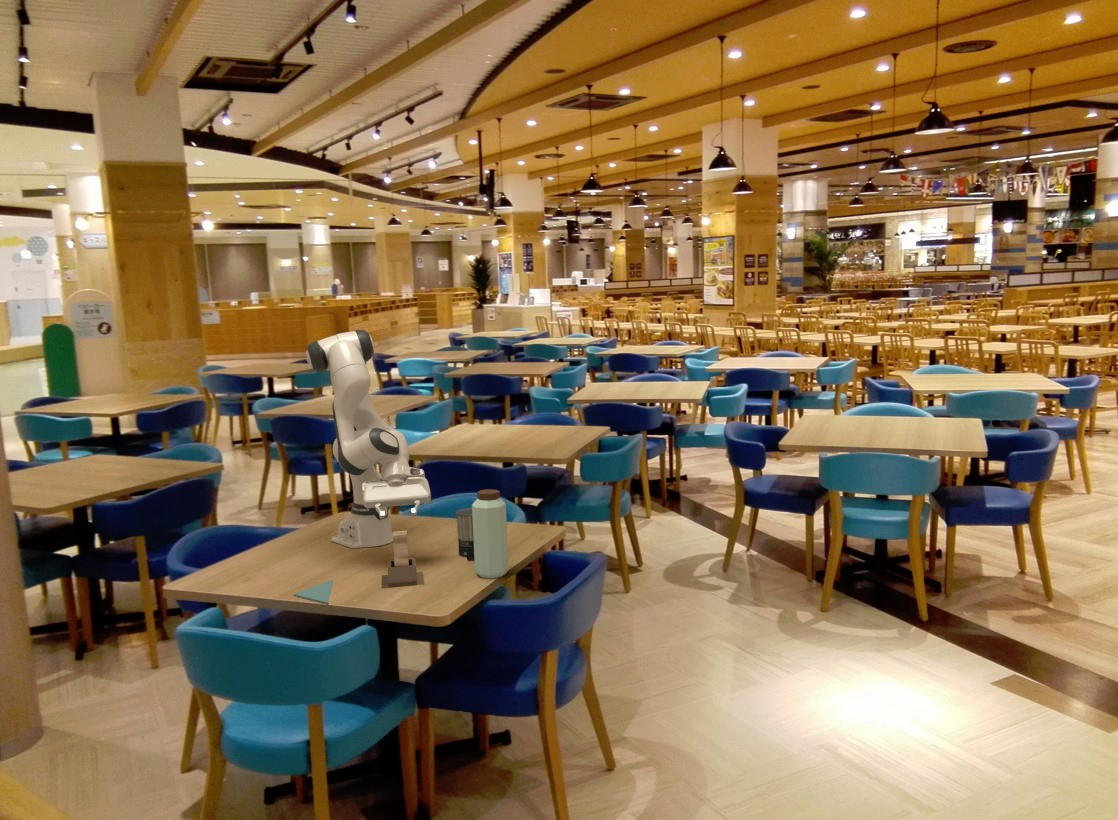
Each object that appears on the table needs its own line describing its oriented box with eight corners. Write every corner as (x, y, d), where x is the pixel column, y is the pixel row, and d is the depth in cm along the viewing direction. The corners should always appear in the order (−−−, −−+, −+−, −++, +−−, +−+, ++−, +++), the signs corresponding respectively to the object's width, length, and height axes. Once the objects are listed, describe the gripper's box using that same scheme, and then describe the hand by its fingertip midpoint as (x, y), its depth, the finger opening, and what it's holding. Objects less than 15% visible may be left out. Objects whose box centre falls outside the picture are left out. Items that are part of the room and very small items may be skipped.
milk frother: (454, 560, 273) (452, 514, 271) (465, 546, 288) (463, 502, 286) (499, 560, 271) (497, 514, 269) (508, 546, 286) (506, 502, 284)
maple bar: (395, 578, 254) (392, 531, 252) (409, 577, 255) (406, 530, 253) (395, 582, 250) (392, 535, 248) (409, 581, 251) (406, 534, 249)
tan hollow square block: (381, 578, 257) (380, 559, 257) (422, 574, 260) (421, 555, 259) (381, 591, 246) (380, 571, 245) (424, 587, 248) (423, 567, 247)
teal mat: (293, 595, 245) (293, 594, 245) (337, 579, 258) (337, 577, 258) (332, 605, 236) (332, 603, 236) (375, 588, 249) (375, 586, 249)
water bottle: (477, 569, 263) (473, 488, 260) (510, 568, 263) (506, 487, 260) (473, 579, 253) (468, 496, 250) (507, 579, 253) (503, 495, 250)
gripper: (360, 475, 264) (361, 513, 256) (428, 469, 267) (431, 507, 259) (362, 486, 269) (363, 524, 260) (429, 480, 272) (432, 518, 264)
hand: (398, 516), depth 260 cm, fingers open, 8 cm apart
